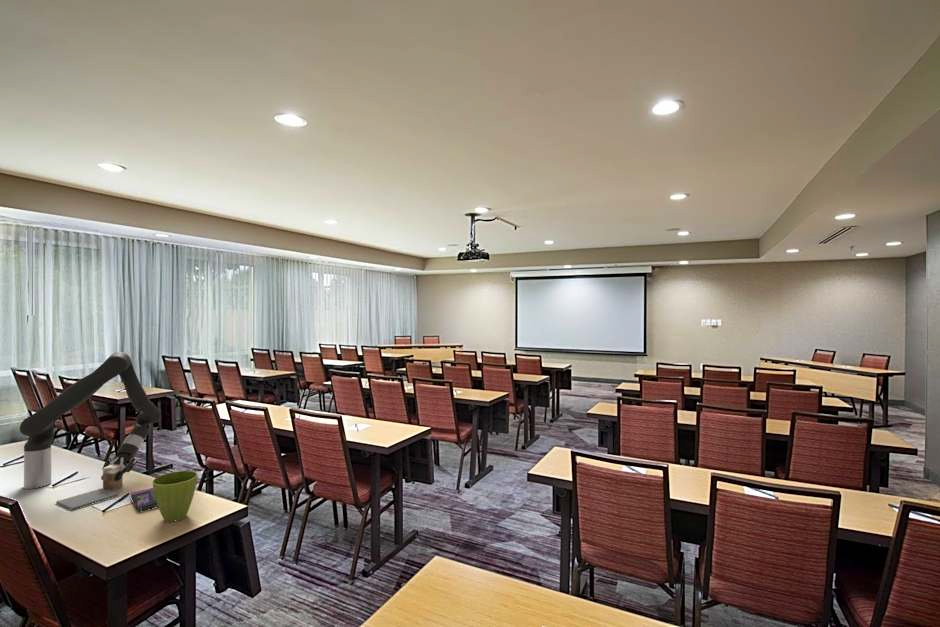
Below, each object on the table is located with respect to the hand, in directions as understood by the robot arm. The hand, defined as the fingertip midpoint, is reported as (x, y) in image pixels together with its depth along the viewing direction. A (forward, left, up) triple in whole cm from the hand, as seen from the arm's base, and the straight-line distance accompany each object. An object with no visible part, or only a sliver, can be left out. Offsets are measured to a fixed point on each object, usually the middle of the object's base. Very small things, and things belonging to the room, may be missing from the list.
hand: (109, 480), depth 205 cm
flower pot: (+56, -2, -4) cm, 56 cm away
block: (-1, +2, -4) cm, 5 cm away
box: (+31, +3, -5) cm, 32 cm away
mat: (+5, -10, -4) cm, 12 cm away
